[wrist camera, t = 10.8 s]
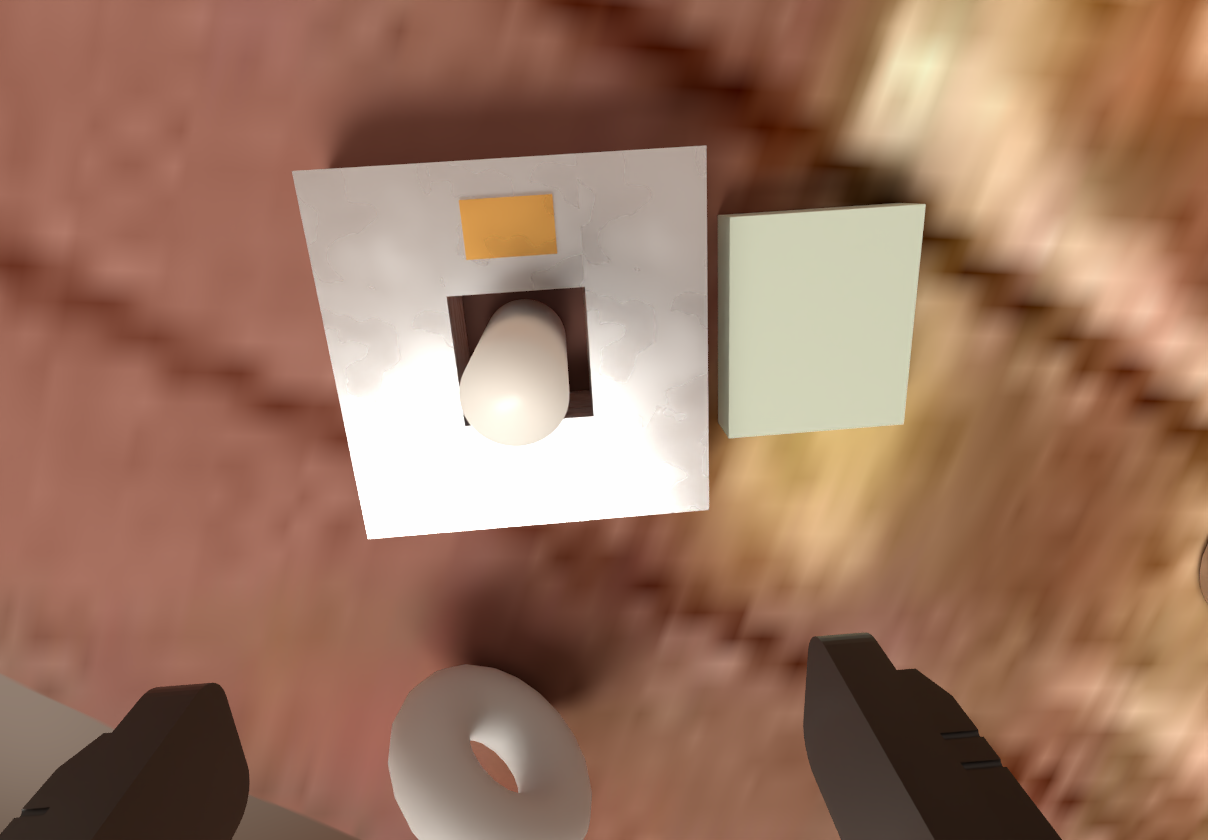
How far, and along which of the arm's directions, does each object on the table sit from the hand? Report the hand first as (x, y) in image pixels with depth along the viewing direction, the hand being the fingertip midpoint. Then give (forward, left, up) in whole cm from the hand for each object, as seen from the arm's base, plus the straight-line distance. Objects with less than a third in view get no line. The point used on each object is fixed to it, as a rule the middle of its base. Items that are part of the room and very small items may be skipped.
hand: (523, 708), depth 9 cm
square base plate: (-11, -1, -20) cm, 23 cm away
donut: (+4, +17, -21) cm, 27 cm away
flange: (+1, -1, -20) cm, 20 cm away
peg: (+1, -1, -20) cm, 20 cm away
